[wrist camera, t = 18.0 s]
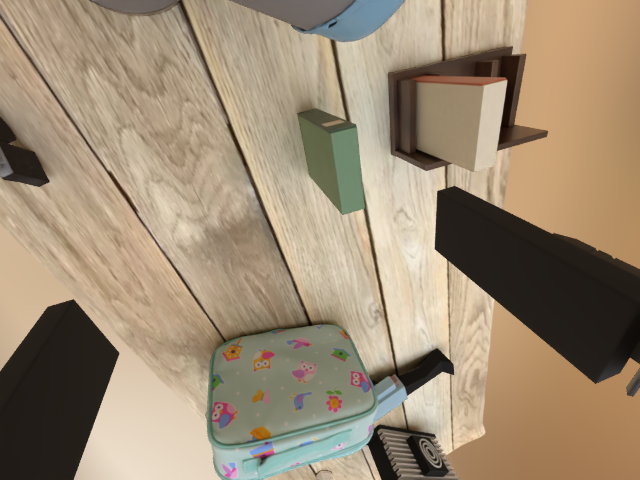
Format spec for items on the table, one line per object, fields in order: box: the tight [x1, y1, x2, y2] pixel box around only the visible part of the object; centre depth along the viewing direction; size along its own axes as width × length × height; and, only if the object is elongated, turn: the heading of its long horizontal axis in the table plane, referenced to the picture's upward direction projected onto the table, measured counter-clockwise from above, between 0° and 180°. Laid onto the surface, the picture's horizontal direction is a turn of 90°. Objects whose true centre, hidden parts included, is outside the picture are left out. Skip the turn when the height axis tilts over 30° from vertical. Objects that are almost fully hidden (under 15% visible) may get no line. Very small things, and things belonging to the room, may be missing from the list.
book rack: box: [388, 46, 548, 171], centre depth 40 cm, size 11×18×9 cm, turn 100°
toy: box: [372, 348, 454, 423], centre depth 72 cm, size 10×8×30 cm
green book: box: [297, 109, 365, 215], centre depth 35 cm, size 9×3×14 cm, turn 10°
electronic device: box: [366, 425, 460, 480], centre depth 84 cm, size 28×11×20 cm, turn 52°
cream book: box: [412, 76, 507, 172], centre depth 36 cm, size 9×3×14 cm, turn 10°
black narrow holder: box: [0, 117, 49, 187], centre depth 30 cm, size 8×2×5 cm
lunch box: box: [205, 324, 378, 480], centre depth 49 cm, size 27×10×21 cm, turn 86°
